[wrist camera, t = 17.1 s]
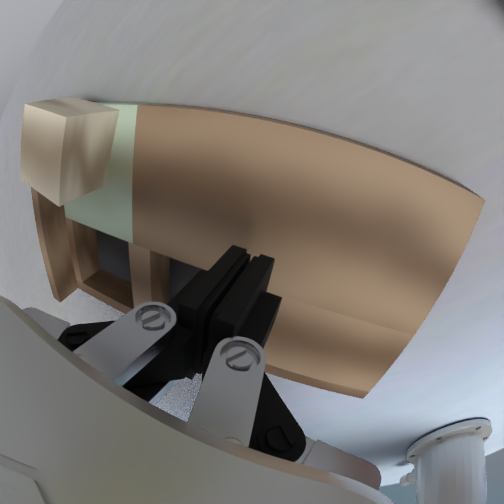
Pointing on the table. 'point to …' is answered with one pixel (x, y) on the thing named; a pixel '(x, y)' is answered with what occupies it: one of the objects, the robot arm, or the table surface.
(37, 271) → the table surface
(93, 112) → the birch block
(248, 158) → the board
